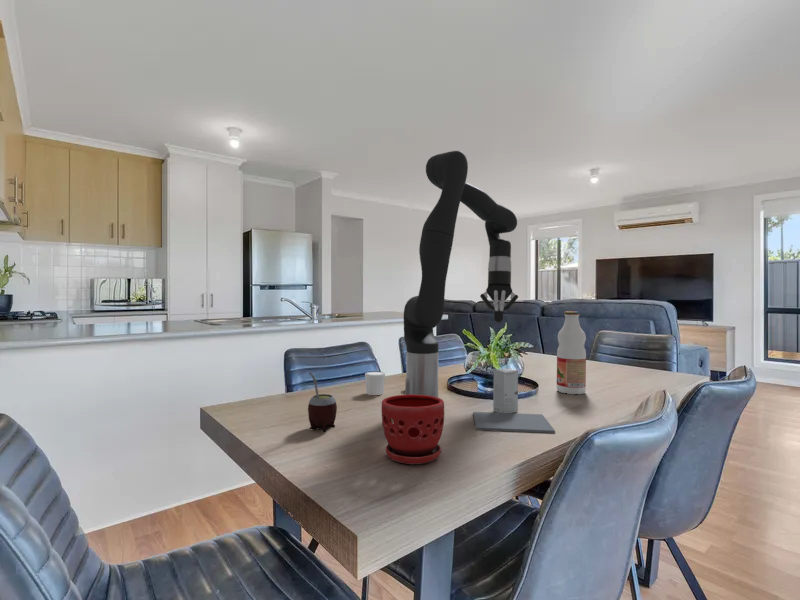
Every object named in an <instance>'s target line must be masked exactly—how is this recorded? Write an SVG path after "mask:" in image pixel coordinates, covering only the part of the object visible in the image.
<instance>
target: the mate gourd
mask: <svg viewBox="0 0 800 600" xmlns="http://www.w3.org/2000/svg"><path fill="white" fill-rule="evenodd" d="M309 376H310V377H312V381H313V384H314V389H315V395H313V396H312V397H311V398H310V399H309V401H308V406H307V412H308V413H307V415H308V421H309V425H310V427H309V430H310V429H315V430H321V431H322V432H323V433H327V429H330V427H333V428H335V427H336V425H335V420H336V417H337V409H338V405H337V401H336V398H335V397H334V395H331V394H324V393H323V394H321V393H320V394H319V390H318V381H317V378H316V377H315V375H314V374H313V373H312V372H309Z"/></svg>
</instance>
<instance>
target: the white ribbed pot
mask: <svg viewBox="0 0 800 600" xmlns="http://www.w3.org/2000/svg"><path fill="white" fill-rule="evenodd" d="M385 375H386V373H385V372H382V371H368V372H364V376H365V377H364V378H365V390H366V391H365V392H366V395H367V394H369V395H368V396H370V395H380V396H382V395H381V394H383V395H384V389H385V380H386V379H385V378H386V376H385Z"/></svg>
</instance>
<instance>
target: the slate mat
mask: <svg viewBox="0 0 800 600" xmlns="http://www.w3.org/2000/svg"><path fill="white" fill-rule="evenodd" d="M472 415H473V421H474V423H475V424H474V426H475V430H476V431H492V430H499V431H500V432H520V433H521V432H523V433H545V434H547V433H548V434H556V430H555V429H554V428H553V426H552V425H551V424H550V422H549V421H548V420H547V418H546V417H545V416H544V415H543V414H542V413H541V414H537V413H517V412H513V413H497V412H481V411H472ZM499 431H498V432H499Z"/></svg>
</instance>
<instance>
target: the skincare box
mask: <svg viewBox="0 0 800 600" xmlns="http://www.w3.org/2000/svg"><path fill="white" fill-rule="evenodd" d="M518 389H519V370H518V369H515V368H509V367H508V368H499V369H493V388H492V390H493V393H492V394H493V395H492V396H493V405H492V406H493V412H494V413H517V412H518V410H519V409H518V408H519V390H518Z"/></svg>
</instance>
